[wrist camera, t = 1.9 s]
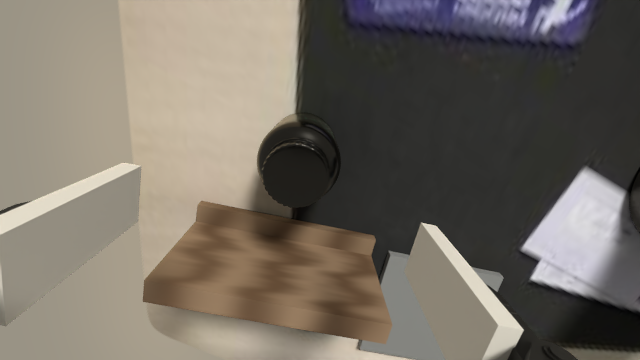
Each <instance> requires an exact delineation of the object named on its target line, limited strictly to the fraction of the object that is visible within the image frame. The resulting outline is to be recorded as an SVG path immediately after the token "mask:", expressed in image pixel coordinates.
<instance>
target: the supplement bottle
mask: <svg viewBox="0 0 640 360" xmlns="http://www.w3.org/2000/svg"><path fill="white" fill-rule="evenodd" d="M340 166H341V159H340V152H339V149H338V146H337V142H336V139H335V136H334V134H333V132H332V130H331V128H330V126H329V125H328V124H327V123H326V122H325V121H324V120H323V119H321V118H320V117H318V116H316V115H313V114H310V113H295V114H292V115H289V116H287V117H285V118H284V119H282V120H281V121H280V122H279V123H278V124H277V125H276V126H275V127H274V128H273V129H272V130H271V131H270V132H269V133H268V134H267V136H266V137H265V138H264V140H263V141H262V143H261V145H260V148H259V151H258V155H257V167H258V172H259V175H260V178H261V180H262V182H263V184H264V185H265V189H266V190H267V191H268V194H269V195H270V196H272V198H273V199H274V200H276V201H277V202H278V203H280V204H283V205H284V206H288V207H295V208H298V207H305V206H309V205H311V204H312V203H315V202H316V201H317V200H319V199H320V198H321V197H322V196H323V195H325V194H326V193H327V192H328V191H329V190H330V189H331V188H332V187H333V185H334V184H335V182H336V180H337V178H338V176H339V172H340Z"/></svg>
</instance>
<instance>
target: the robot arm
mask: <svg viewBox="0 0 640 360" xmlns="http://www.w3.org/2000/svg"><path fill="white" fill-rule="evenodd" d="M140 179H141V166H138V165H134V164H128V163H121V164H119V165H116V166H114V167H112V168H110V169H107V170H105V171H102V172H100V173H98V174H95V175H93V176H91V177H88V178H86V179H83V180H81V181H79V182H76V183H74V184H72V185H69V186H67V187H65V188H62V189H60V190H57V191H55V192H53V193H50V194H48V195H46V196H43V197H41V198H39V199H36V200H34V201H29V202H25V203H20V204H16V205H13V206H11V207H8V208H6V209H4V210H1V211H0V325H2V326H7V325H8V324H9V323H11V322H12V321H13V320H14V319H16V318H17V317H18V316H19V315H21V314H22V313H23V312H24V311H26V310H27V309H28V308H29V307H31V306H32V305H33V304H34V303H35V302H37V301H38V300H40V299H41V298H42V297H43V296H45V295H46V294H47V293H48V292H50V291H51V290H52V289H53V288H55V287H56V286H57V285H58V284H60V283H61V282H62V281H63V280H65V279H66V278H67V277H68V276H70V275H71V274H72V273H74V272H75V271H76V270H77V269H79V268H80V267H81V266H82V265H84V264H85V263H86V262H87V261H88V260H90V259H91V258H93V257H94V256H95V255H96V254H98V253H99V252H100V251H101V250H102V249H104V248H105V247H106V246H108V245H109V244H110V243H111V242H113V241H114V240H115V239H116V238H118V237H119V236H120V235H121V234H123V233H124V232H125V231H127V230H128V229H129V228H130V227H131V226H133V225H134V224H135V223H137V222H138V213H139V196H140ZM630 213H631V218H632V221H633V223H634V225H635V227H636V229H637V230H638V231H639V232H640V171H639V173H638V175H637V177H636V179H635V182H634V184H633V188H632V191H631V196H630ZM404 272H405V275H406V277H407V279H408V281H409V283H410V285H411V287H412V289H413V292H414V294H415V296H416V298H417V300H418V302H419V304H420V306H421V309H422V311H423V313H424V315H425V317H426V319H427V321H428V323H429V326H430V328H431V330H432V332H433V334H434V336H435V338H436V340H437V343H438V345H439V347H440V349H441V351H442V353H443V355H444V357H445V359H446V360H578V359H576V358H575V357H574V356H573V355H572V354H571V353H569V352H568V351H566V350H565V349H563V348H561V347H560V346H558V345H556V344H554V343H552V342H549V341H546V340H542V339H539V338H538V337H537V336H536V335H535V334H534V332H533V331H532V330H531V329H530V328H529V327H528V326H527V324H526V323H525V322H524V321H523V320H522V319H521V317H520V316H519V315H517V314H516V312H515V311H514V309H513V308H512V307H511V306H509V304H508V303H507V301H506V300H505V299H504V298H503V297H502V296H501V295H500V294H499V293H498V292H497V291H495V290H494V289H493V288H491V287H490V286H489V285H486V284H485V283H484V282H483V281H482V280H481V278H480V277H479V276H478V275H477V274H476V272H475V271H474V270H473V269H472V268H471V267H470V265H469V264H468V263H467V262H466V261H465V259H464V258H463V257H462V256H461V255H460V253H459V252H458V251H457V250H456V249H455V248H454V246H453V245H452V244H451V243H450V242H449V240H448V239H447V238H446V237H445V236H444V234H443V233H442V232H441V231H440V230H439V229H438V227H437V226H434V225H429V224H425V223H421V225H420V228H419V230H418V233H417V236H416V239H415V242H414V245H413V248H412V250H411V253H410V256H409V259H408V262H407V265H406V268H405V271H404Z"/></svg>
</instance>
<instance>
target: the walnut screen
mask: <svg viewBox="0 0 640 360" xmlns="http://www.w3.org/2000/svg"><path fill="white" fill-rule="evenodd" d="M375 241H376V240H375V237H374V235H369V234H364V233H359V232H354V231H349V230H344V229H339V228H334V227H329V226H324V225H319V224H314V223H309V222H304V221H299V220H294V219H289V218H284V217H279V216H274V215H269V214H264V213H259V212H254V211H249V210H244V209H239V208H234V207H229V206H224V205H219V204H214V203H209V202H204V201H201V202H200V203H199V204H198V208H197V216H196V222H195V223H194V224H193V225H192V226H191V228H190V229H189V230H188V231H187V232H186V233H185V234H184V236H183V237H182V238H181V239H180V240H179V241H178V242H177V244H176V245H175V246H174V247H173V248H172V249H171V250H170V252H169V253H168V254H167V255H166V256H165V257H164V258H163V260H162V261H161V262H160V263H159V264H158V265H157V266H156V268H155V269H154V270H153V271H152V272H151V273H150V274H149V276H148V277H147V278H146V279H145V280H144V292H143V302H148V303H153V304H159V305H165V306H171V307H176V308H182V309H188V310H193V311H199V312H205V313H210V314H216V315H222V316H228V317H233V318H239V319H245V320H250V321H256V322H262V323H267V324H273V325H279V326H285V327H290V328H296V329H302V330H307V331H313V332H319V333H324V334H330V335H336V336H342V337H347V338H353V339H359V340H364V341H370V342H376V343H381V344H386V342H387V339H388V337H389V334H390V331H391V328H392V322H391V318H390V315H389V312H388V309H387V306H386V302H385V299H384V296H383V293H382V289H381V286H380V283H379V280H378V277H377V273H376V270H375V267H374V264H373V260H372V257H371V254H372V251H373V248H374V244H375Z"/></svg>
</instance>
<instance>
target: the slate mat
mask: <svg viewBox="0 0 640 360" xmlns="http://www.w3.org/2000/svg"><path fill="white" fill-rule="evenodd" d="M409 256H410V255H407V254H402V253H397V252H392V251H388V254H387V257H386V260H385V263H384V266H383V270H382V273H381V276H380V279H379V283H380V286H381V289H382V293H383V296H384V299H385V302H386V306H387V309H388V312H389V315H390V318H391V322H392V328H391V331H390V334H389V337H388V339H387V342H386V344H381V343H376V342H370V341H364V340H360V341H359V349H360V350H364V351H370V352H376V353H382V354H387V355H393V356H399V357H405V358H411V359H416V360H446V359H445V357H444V355H443V353H442V351H441V349H440V347H439V345H438V343H437V340H436V338H435V336H434V334H433V332H432V330H431V328H430V326H429V323H428V321H427V319H426V317H425V315H424V313H423V311H422V309H421V306H420V304H419V302H418V300H417V298H416V296H415V294H414V292H413V289H412V287H411V285H410V283H409V281H408V279H407V277H406V275H405V272H404V271H405V268H406V265H407V262H408V259H409ZM471 268H472V269H473V270H474V271H475V272H476V274H477V275H478V276H479V277H480V278H481V280H482V281H483V282H484V283H485V284H486V285H489V286H490V287H491V288H493V289H494V290H495V291H498V289H499V287H500V285H501V282H502V280H503V278H504V277H503V276H502V275H501V274H500V273H498V272H493V271H488V270H483V269H478V268H473V267H471Z"/></svg>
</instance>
